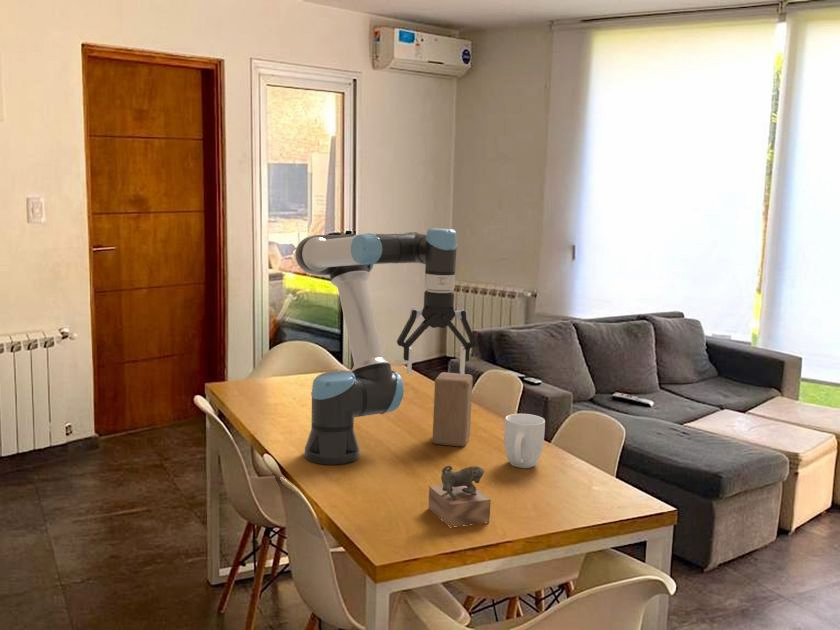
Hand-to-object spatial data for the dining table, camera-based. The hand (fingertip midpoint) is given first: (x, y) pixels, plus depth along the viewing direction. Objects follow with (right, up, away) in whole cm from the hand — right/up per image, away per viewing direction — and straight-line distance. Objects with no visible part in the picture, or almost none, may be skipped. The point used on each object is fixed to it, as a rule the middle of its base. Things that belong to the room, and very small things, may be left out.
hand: (435, 373), depth 218 cm
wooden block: (+5, -23, +39) cm, 45 cm away
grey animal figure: (+6, -27, -19) cm, 33 cm away
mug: (+24, -27, +19) cm, 41 cm away
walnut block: (+5, -32, -17) cm, 37 cm away
